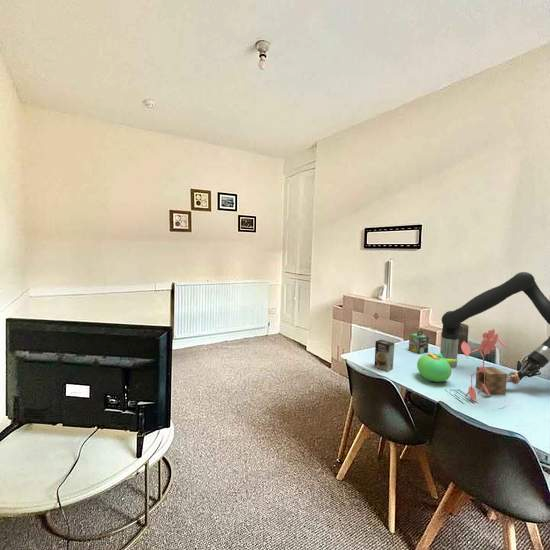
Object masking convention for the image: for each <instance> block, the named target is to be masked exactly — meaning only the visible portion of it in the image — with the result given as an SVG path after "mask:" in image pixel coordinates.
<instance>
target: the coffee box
mask: <svg viewBox="0 0 550 550" xmlns="http://www.w3.org/2000/svg"><path fill="white" fill-rule="evenodd" d="M374 348H375V349H374V350H375V351H374V368H376V369H379V370H381V369H382V371H384V372H387V373H388V372H390V371H392V370H393V369H394V357H395V356H394V355H395V343H394V342H392V341H389V340H384V339H378V340H376V341H375V347H374Z"/></svg>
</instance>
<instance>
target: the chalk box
mask: <svg viewBox="0 0 550 550" xmlns="http://www.w3.org/2000/svg"><path fill="white" fill-rule="evenodd" d="M423 332H424V331H423V330H418V331H417V333H410V334H409V337H408V351H410V352H413V353H415V354H418V355H420V354H428V353H429V341H430V340H429V339H430V336H429V335H425V334H423Z"/></svg>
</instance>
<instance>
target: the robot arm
mask: <svg viewBox="0 0 550 550" xmlns="http://www.w3.org/2000/svg"><path fill="white" fill-rule="evenodd" d="M520 292H523V293H524V294H525V295H526V296H527V297H528V299H530V301H531V302H532V304H533V305H534V307H535V309H536V310H537V311H538V313H539V314H540V316H541V317H542V318H543V319H544V320H545V321H546V322H547V324H548V325H550V299H548V297H547V296H545V294H544V293H543V292H542V291H541V289H540V288H539V285H538V284H537V281H536V280H535V277H534V275H532V273H529V272H526V271H522V272H518V273H516V274H514V276H512V277H511V278H509V279H508V280H506V281H505V282H503V283H502V284H500V285H497V286H495V287H492V288H490V289H488V290H485V291H483V292H481V293H480V294H478V295H476V296H475V297H472V298H471V299H470V300H468V301H467V302H466V303H464V305H462V306H460V307H459V308H456V309H454V310H449V311H446V312H445V313H444V314H443V315H442V317H441V323H442V330H441V336H440V337H441V339H440V350H439V353H441V354H442V356H443V358H446V359H456V360H458V354H459V353H458V339H459V331H460V323H462V324H463V322H465V321H466V320H468V319H470V318H473V317H475V316H477V315H479V314H481V313H484V312H486V311H488V310H490V309H492V308H494V307H495V306H498V305H499V304H501V303H502V302H504V301H505V300H506V299H508V298H509V297H511V296H514V295H515V294H518V293H520ZM548 363H550V335H549V336H548V338H547V339H546V340H544V341H543V343H541V344H540V345H538V346H537V347H536V348H535V349H534V350H533V351H532V352H530V353H529V354H528V355H527V358H526V359H525V360H523V361H520V360H517V363H516V364H517V365H516V370H517V372H516V373H517V374H518V376H519V378H520V381H521V380H522V379H523V378H525V377H527V378H533V377H536V376H539V375H542V372H541V368H544V367H545V366H546V365H547V364H548ZM457 364H458V361H457V362H454V363H450V366H451V368H456V367H457V366H458V365H457Z"/></svg>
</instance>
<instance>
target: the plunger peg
mask: <svg viewBox="0 0 550 550" xmlns="http://www.w3.org/2000/svg"><path fill="white" fill-rule="evenodd" d="M517 373H518V372H515V371H513V372H510V373H506V374H507V380H506V383H512V384H515V385H518V384H519V383H520V381H521V380H520V378H519V376H518V374H517Z"/></svg>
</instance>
